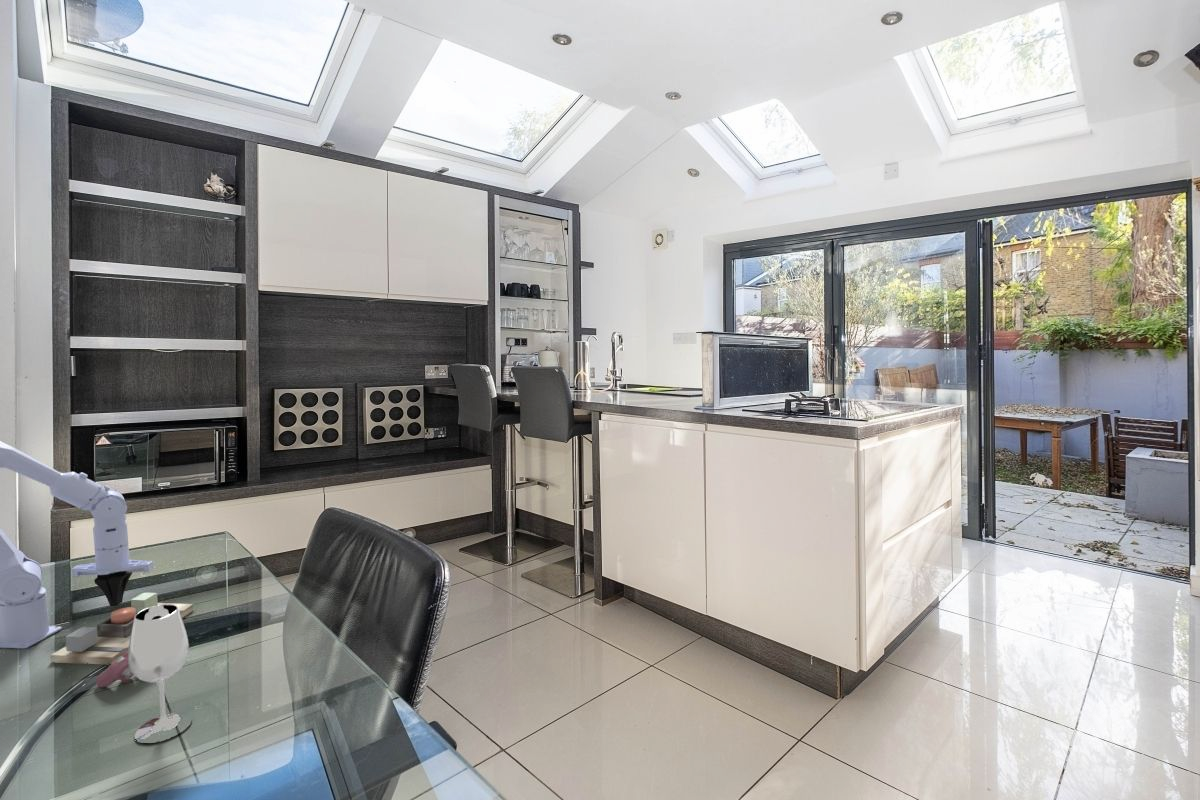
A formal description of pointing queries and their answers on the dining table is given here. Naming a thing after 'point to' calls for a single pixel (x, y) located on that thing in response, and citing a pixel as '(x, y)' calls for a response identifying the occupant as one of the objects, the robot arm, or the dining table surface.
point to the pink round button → (123, 615)
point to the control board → (108, 642)
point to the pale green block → (144, 601)
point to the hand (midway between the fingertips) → (116, 604)
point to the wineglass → (158, 657)
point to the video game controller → (115, 672)
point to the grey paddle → (81, 639)
